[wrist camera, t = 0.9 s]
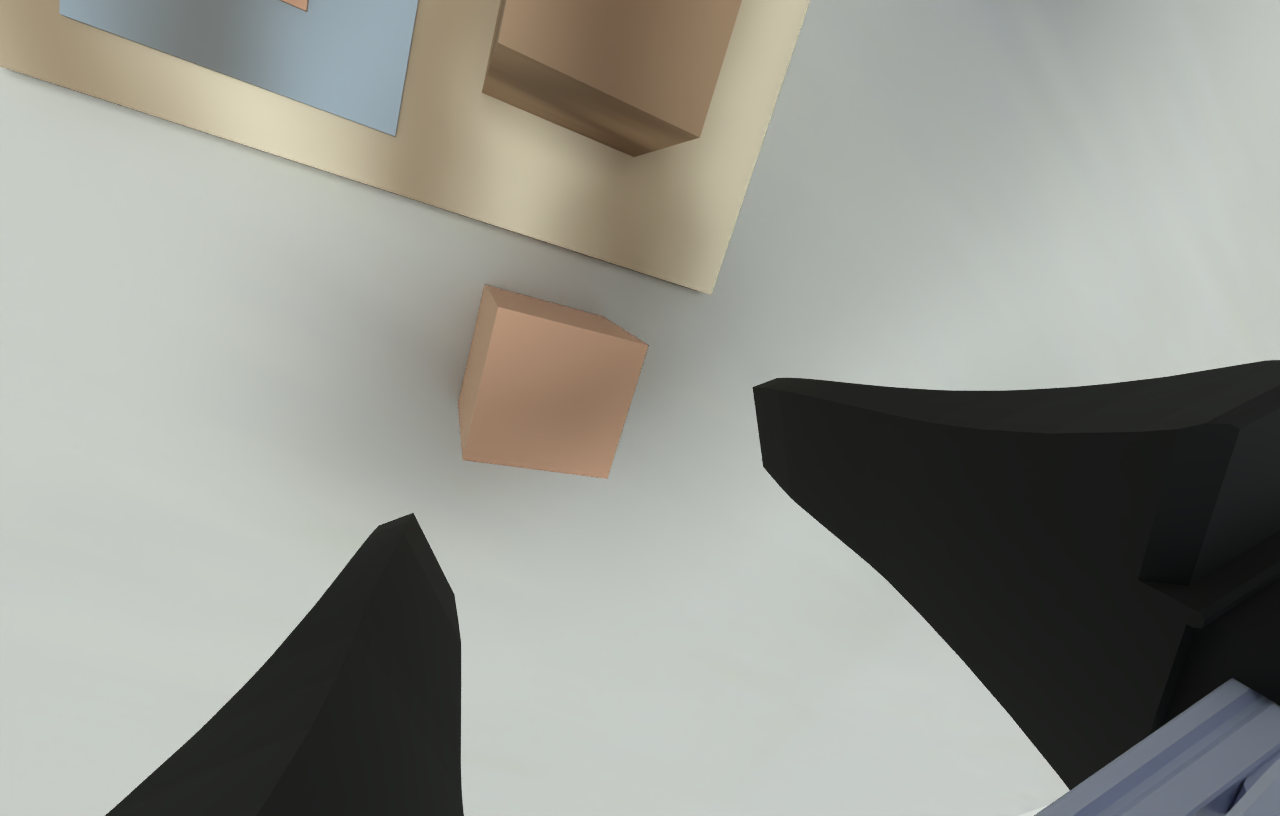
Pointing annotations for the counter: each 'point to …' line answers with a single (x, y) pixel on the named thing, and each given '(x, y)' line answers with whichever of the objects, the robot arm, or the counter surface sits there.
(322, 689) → the robot arm
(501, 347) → the terracotta block
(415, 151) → the baseplate
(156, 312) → the counter surface
